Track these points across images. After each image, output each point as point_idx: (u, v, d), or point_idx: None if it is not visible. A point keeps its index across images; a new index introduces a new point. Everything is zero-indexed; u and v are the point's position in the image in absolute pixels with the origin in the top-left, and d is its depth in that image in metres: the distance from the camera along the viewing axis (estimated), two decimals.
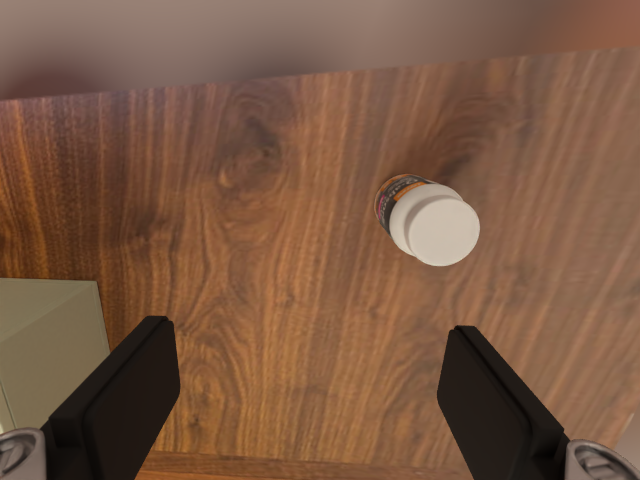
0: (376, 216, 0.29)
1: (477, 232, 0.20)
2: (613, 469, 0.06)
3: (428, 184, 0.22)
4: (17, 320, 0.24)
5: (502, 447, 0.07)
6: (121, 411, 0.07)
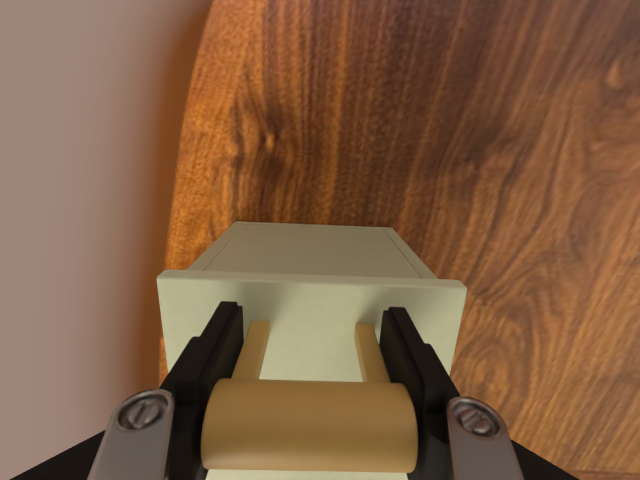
0: None
1: None
2: (479, 416, 0.07)
3: None
4: (402, 263, 0.16)
5: None
6: None
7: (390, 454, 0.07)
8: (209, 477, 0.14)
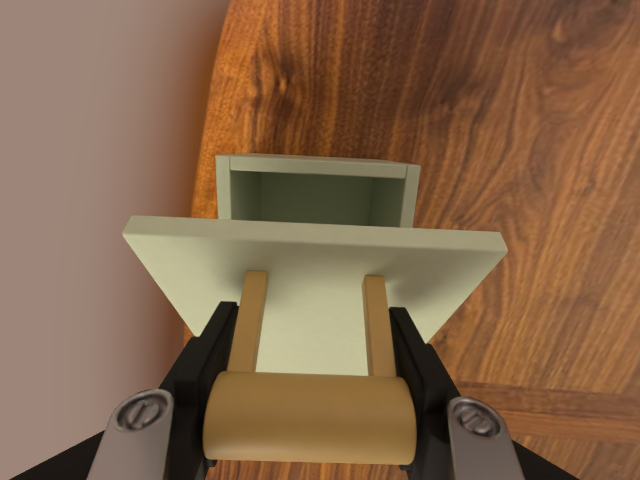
0: None
1: None
2: (480, 416, 0.07)
3: None
4: None
5: None
6: None
7: (385, 461, 0.07)
8: None
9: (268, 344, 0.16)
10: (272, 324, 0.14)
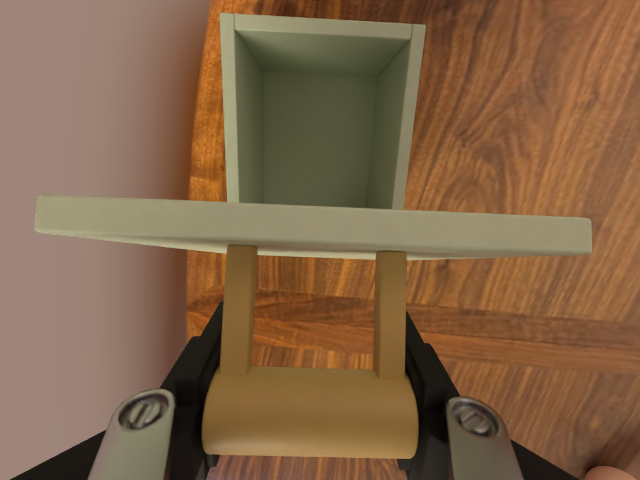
0: None
1: None
2: (479, 416, 0.07)
3: None
4: None
5: None
6: None
7: None
8: None
9: None
10: (270, 251, 0.12)
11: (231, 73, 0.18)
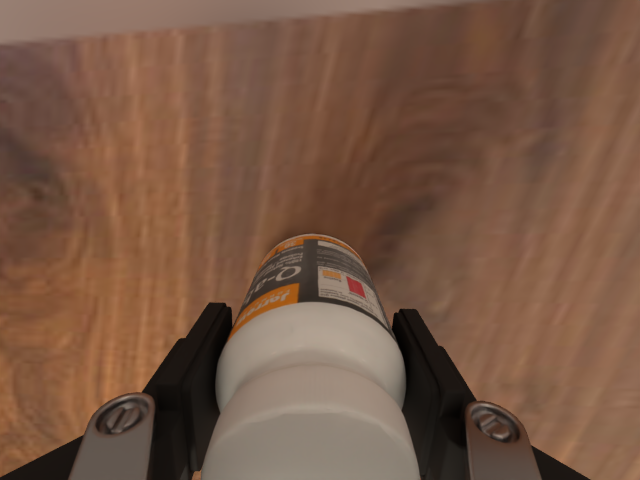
0: None
1: None
2: (499, 421, 0.07)
3: (300, 304, 0.08)
4: None
5: (421, 412, 0.08)
6: (204, 383, 0.08)
7: None
8: None
9: None
10: None
11: None
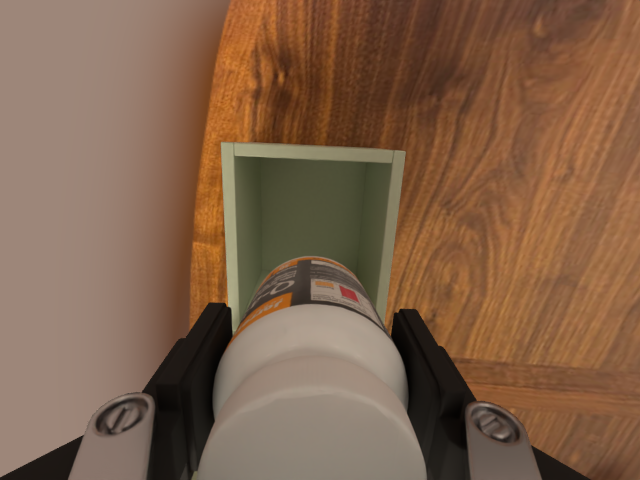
0: None
1: None
2: (499, 421, 0.07)
3: (292, 307, 0.09)
4: None
5: (421, 412, 0.08)
6: (204, 383, 0.08)
7: None
8: None
9: None
10: None
11: (231, 191, 0.20)
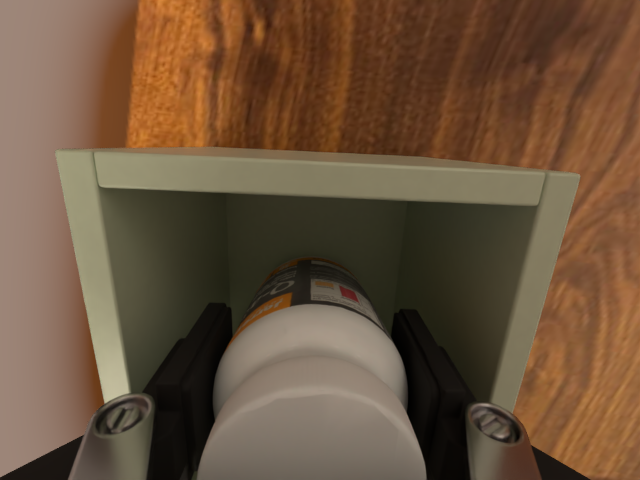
0: None
1: None
2: (499, 421, 0.07)
3: (292, 307, 0.09)
4: (460, 162, 0.10)
5: (421, 412, 0.08)
6: (204, 383, 0.08)
7: None
8: None
9: None
10: None
11: (102, 280, 0.07)
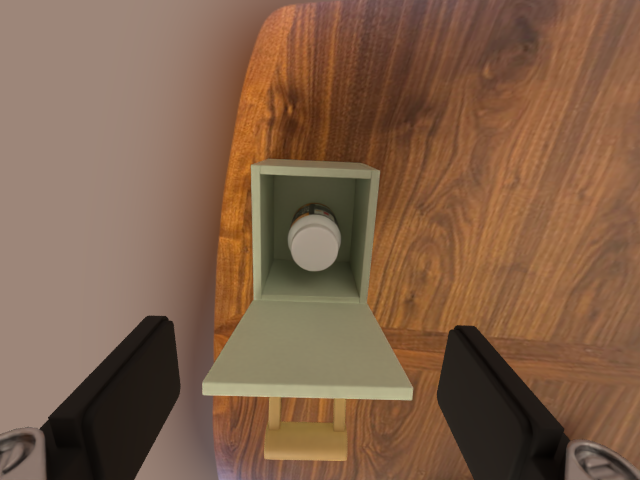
0: None
1: (336, 247, 0.30)
2: (613, 469, 0.06)
3: (309, 215, 0.32)
4: None
5: (502, 447, 0.07)
6: (121, 411, 0.07)
7: None
8: None
9: None
10: None
11: (257, 198, 0.28)
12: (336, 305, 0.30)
